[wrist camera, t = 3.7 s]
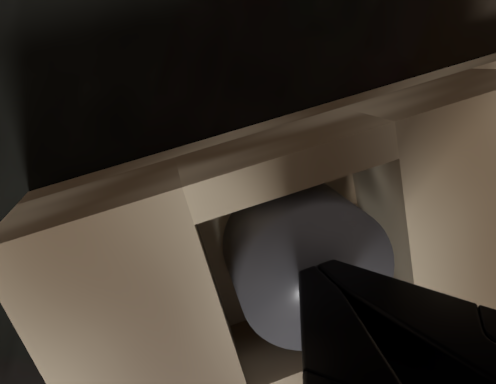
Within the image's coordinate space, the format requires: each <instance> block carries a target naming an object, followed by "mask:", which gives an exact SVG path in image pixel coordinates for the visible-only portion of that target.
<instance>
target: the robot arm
mask: <svg viewBox="0 0 496 384" xmlns="http://www.w3.org/2000/svg"><path fill="white" fill-rule="evenodd" d="M298 282H299V304H300V327H301V349H302V372H303V374H302V378H303V384H496V309H493V308H489V307H486V306H483V305H479V306H477V304H476V303H473V302H470V301H467V300H463V299H460V298H457V297H454V296H450V295H447V294H444V293H441V292H438V291H434V290H431V289H428V288H425V287H422V286H418V285H415V284H412V283H409V282H406V281H402V280H399V279H396V278H393V277H390V276H386V275H383V274H380V273H377V272H373V271H370V270H367V269H364V268H361V267H357V266H354V265H351V264H348V263H345V262H341V261H338V260H334V259H332V260H329V261H326V262H323V263H320V264H318V265H317V267H316V266H312V267H309V268H306V269H303V270H300V271H299V272H298Z"/></svg>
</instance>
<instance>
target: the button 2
mask: <svg viewBox="0 0 496 384" xmlns="http://www.w3.org/2000/svg"><path fill="white" fill-rule="evenodd" d="M223 255H224V260H225V263H226V266H227V269H228V271H229V274H230V277H231V280H232V283H233V285H234V288H235V291H236V294H237V297H238V300H239V302H240V305H241V308H242V311H243V313H244V316H245V318H246V320H247V321H248V323H249V325H250V326H251V327H252V329H253V330H254V331H255V332H256V333H257V334H258V335H259V336H260V337H262V338H263V339H264V340H266V341H268V342H269V343H271V344H273V345H276V346H278V347H281V348H284V349H289V350H295V351H302V349H301V327H300V304H299V282H298V272H299V271H300V270H303V269H306V268H309V267H312V266H316V267H317V265H318V264H320V263H323V262H326V261H329V260H332V259H334V260H338V261H341V262H345V263H348V264H351V265H354V266H357V267H361V268H364V269H367V270H370V271H373V272H377V273H380V274H383V275H386V276H390V277H393V276H394V266H395V263H394V253H393V248H392V245H391V242H390V239H389V237H388V236H387V234H386V232H385V230H384V229H383V228H382V227H381V225H380V224H379V223H378V222H377V221H376V220H375V219H374V218H373V217H371V216H370V215H368V214H367V213H366V212H364V211H363V210H361V209H360V208H359V207H357V206H356V205H355V204H353V203H352V202H350V201H349V200H348V199H346V198H345V197H344V196H342V195H341V194H339V193H338V192H337V191H335V190H334V189H333V188H331V187H330V186H328V185H327V184H325V183H323V184H320V185H317V186H313V187H310V188H307V189H304V190H301V191H298V192H295V193H292V194H289V195H286V196H282V197H279V198H276V199H273V200H270V201H267V202H264V203H261V204H258V205H255V206H251V207H248V208H245V209H242V210H239V211H236V212H233V213H231V215H230V217H229V219H228V221H227V224H226V227H225V230H224V235H223Z"/></svg>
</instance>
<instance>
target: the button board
mask: <svg viewBox="0 0 496 384" xmlns="http://www.w3.org/2000/svg"><path fill="white" fill-rule="evenodd" d="M323 183H325V184H327V185H328V186H330V187H331V188H333V189H334V190H335V191H337V192H338V193H339V194H341V195H342V196H344V197H345V198H346V199H348V200H349V201H350V202H352V203H353V204H355V205H356V206H357V207H359V208H360V209H361V210H363V211H364V212H366V213H367V214H368V215H370V216H371V217H373V218H374V219H375V220H376V221H377V222H378V223H379V224H380V225H381V227H382V228H383V229H384V230H385V232H386V234H387V236H388V237H389V239H390V242H391V245H392V248H393V253H394V263H395V266H394V276H393V278H396V279H399V280H402V281H406V282H409V283H412V284H415V285H418V286H422V287H425V288H428V289H431V290H434V291H438V292H441V293H444V294H447V295H450V296H454V297H457V298H460V299H463V300H467V301H470V302H473V303H476V304H477V306H479V305H483V306H486V307H489V308H493V309H496V53H494V54H490V55H487V56H484V57H480V58H477V59H474V60H470V61H467V62H464V63H460V64H457V65H453V66H450V67H447V68H443V69H440V70H437V71H433V72H430V73H426V74H423V75H420V76H416V77H413V78H410V79H406V80H403V81H400V82H396V83H393V84H389V85H386V86H383V87H379V88H376V89H373V90H369V91H366V92H362V93H359V94H356V95H352V96H349V97H346V98H342V99H339V100H335V101H332V102H329V103H325V104H322V105H319V106H315V107H312V108H309V109H305V110H302V111H298V112H295V113H292V114H288V115H285V116H282V117H278V118H275V119H271V120H268V121H265V122H261V123H258V124H255V125H251V126H248V127H245V128H241V129H238V130H234V131H231V132H228V133H224V134H221V135H218V136H214V137H211V138H207V139H204V140H201V141H197V142H194V143H191V144H187V145H184V146H181V147H177V148H174V149H170V150H167V151H164V152H160V153H157V154H154V155H150V156H147V157H143V158H140V159H137V160H133V161H130V162H127V163H123V164H120V165H117V166H113V167H110V168H106V169H103V170H100V171H96V172H93V173H90V174H86V175H83V176H79V177H76V178H73V179H69V180H66V181H63V182H59V183H56V184H52V185H49V186H46V187H42V188H39V189H36V190H32V191H29V192H28V193H27V194H26V195H25V196H24V197H23V198H22V199H21V200H20V201H19V202H18V203H17V205H16V206H15V207H14V208H13V209H12V210H11V211H10V212H9V213H8V214H7V215H6V216H5V217H4V219H3V220H2V221H1V222H0V303H1V304H2V306H3V308H4V310H5V311H6V313H7V315H8V317H9V319H10V320H11V322H12V324H13V326H14V327H15V329H16V331H17V333H18V335H19V336H20V338H21V340H22V342H23V343H24V345H25V347H26V349H27V351H28V352H29V354H30V356H31V358H32V359H33V361H34V363H35V365H36V367H37V368H38V370H39V372H40V374H41V375H42V377H43V379H44V381H45V383H46V384H303V378H302V374H303V372H302V351H295V350H289V349H284V348H281V347H278V346H276V345H273V344H271V343H269V342H268V341H266V340H264V339H263V338H262V337H260V336H259V335H258V334H257V333H256V332H255V331H254V330H253V329H252V327H251V326H250V325H249V323H248V321H247V320H246V318H245V316H244V313H243V311H242V308H241V305H240V302H239V300H238V297H237V294H236V291H235V288H234V285H233V283H232V280H231V277H230V274H229V271H228V269H227V266H226V263H225V260H224V255H223V235H224V230H225V227H226V224H227V221H228V219H229V217H230V215H231V213H233V212H236V211H239V210H242V209H245V208H248V207H251V206H255V205H258V204H261V203H264V202H267V201H270V200H273V199H276V198H279V197H282V196H286V195H289V194H292V193H295V192H298V191H301V190H304V189H307V188H310V187H313V186H317V185H320V184H323Z"/></svg>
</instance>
